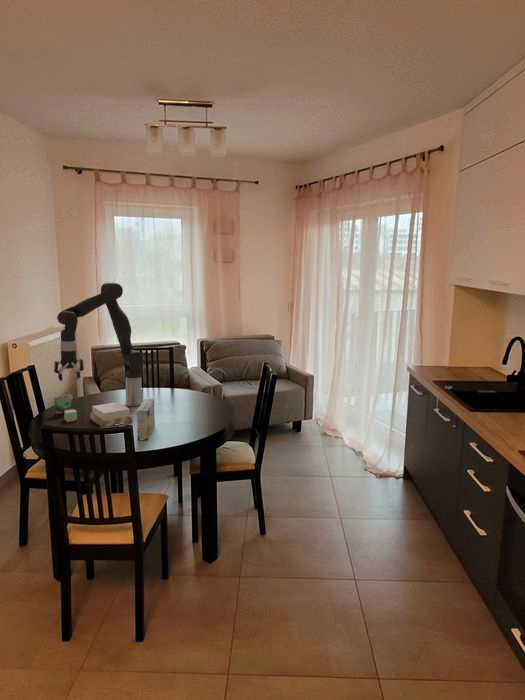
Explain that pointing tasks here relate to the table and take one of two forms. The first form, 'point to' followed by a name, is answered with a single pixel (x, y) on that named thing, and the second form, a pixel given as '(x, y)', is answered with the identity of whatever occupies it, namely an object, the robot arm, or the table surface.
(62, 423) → the table surface
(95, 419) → the tower bottom slab
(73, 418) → the sage block
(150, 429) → the snack box
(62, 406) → the food container
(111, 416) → the tower top slab
